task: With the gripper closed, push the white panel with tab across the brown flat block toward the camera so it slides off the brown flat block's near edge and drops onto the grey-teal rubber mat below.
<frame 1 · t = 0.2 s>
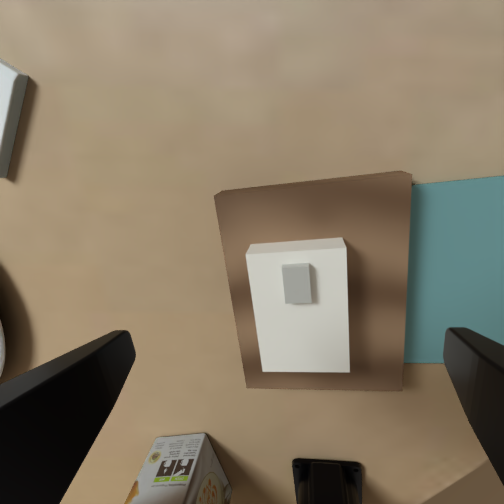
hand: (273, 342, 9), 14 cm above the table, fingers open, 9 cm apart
coffee box: (195, 462, 33), on the table
brown flat block: (313, 286, 23), on the table
white panel with tab: (300, 300, 21), point 2 cm above the table, touching brown flat block
mat: (481, 278, 21), on the table
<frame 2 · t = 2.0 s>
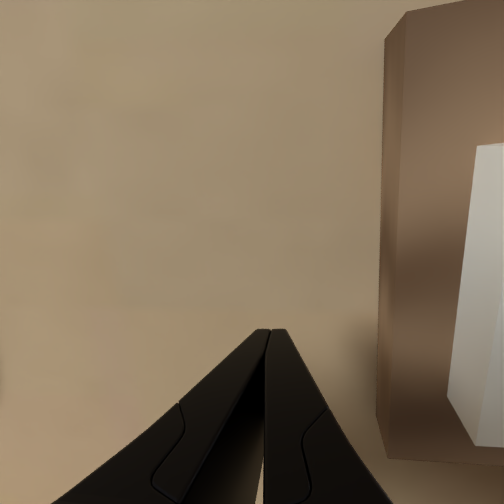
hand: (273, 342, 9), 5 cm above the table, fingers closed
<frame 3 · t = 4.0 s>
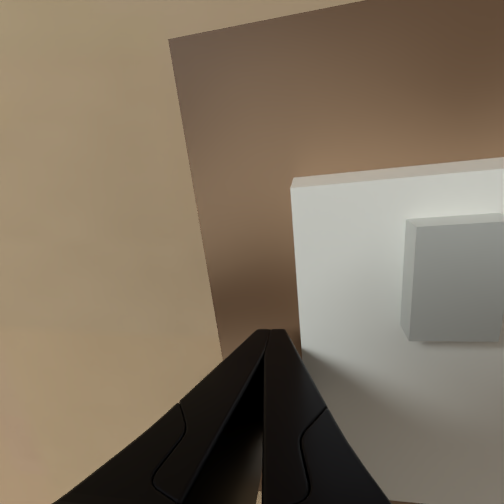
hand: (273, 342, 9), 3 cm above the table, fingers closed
brown flat block: (393, 288, 11), on the table
white panel with tab: (406, 324, 9), point 2 cm above the table, touching gripper
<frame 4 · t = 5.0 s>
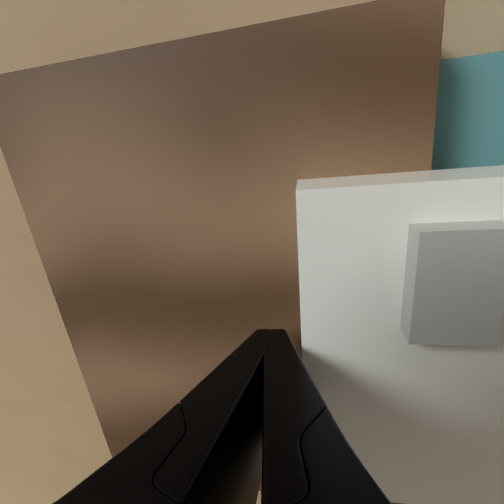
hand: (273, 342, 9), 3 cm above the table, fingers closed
brown flat block: (235, 292, 12), on the table
white panel with tab: (405, 327, 9), point 2 cm above the table, touching brown flat block, gripper
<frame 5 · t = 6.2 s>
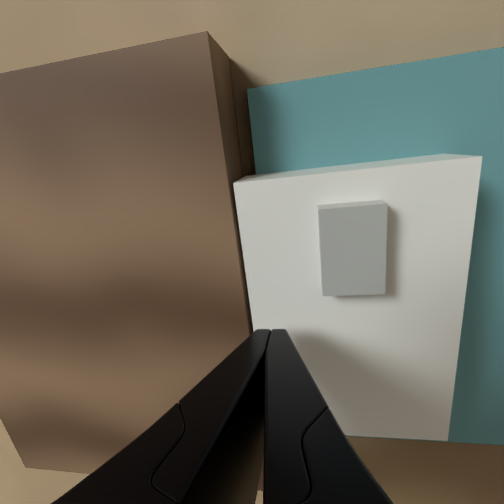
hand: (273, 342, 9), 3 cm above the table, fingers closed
brown flat block: (119, 295, 13), on the table
white panel with tab: (342, 293, 11), resting on mat
mat: (408, 286, 11), on the table
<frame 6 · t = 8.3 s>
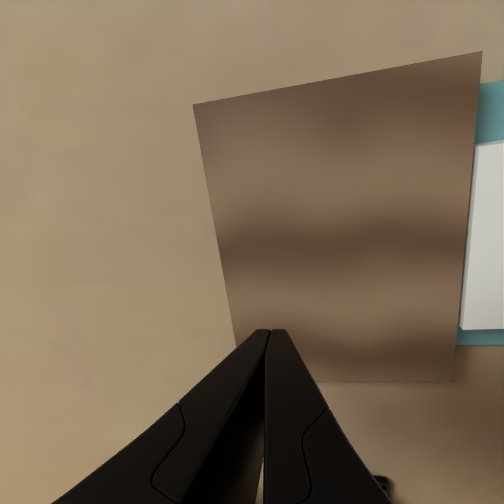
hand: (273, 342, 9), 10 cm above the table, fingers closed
brown flat block: (330, 242, 17), on the table
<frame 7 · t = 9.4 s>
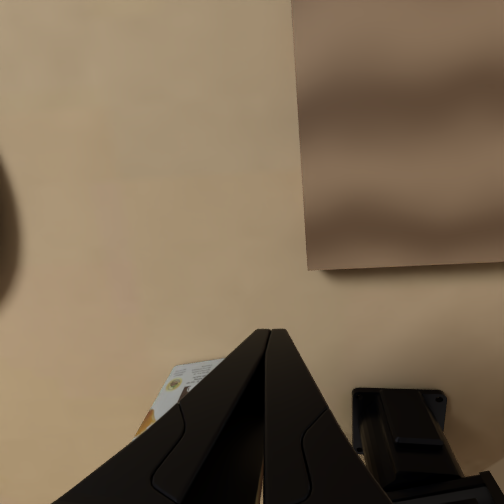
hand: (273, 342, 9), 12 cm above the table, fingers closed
coffee box: (222, 400, 26), on the table
brown flat block: (409, 116, 16), on the table
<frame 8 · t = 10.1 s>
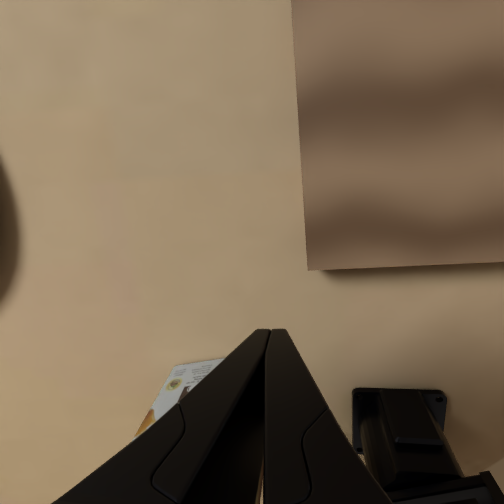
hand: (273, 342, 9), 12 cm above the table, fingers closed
coffee box: (222, 400, 26), on the table
brown flat block: (409, 116, 16), on the table
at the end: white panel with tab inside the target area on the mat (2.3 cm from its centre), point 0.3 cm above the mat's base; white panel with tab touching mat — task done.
